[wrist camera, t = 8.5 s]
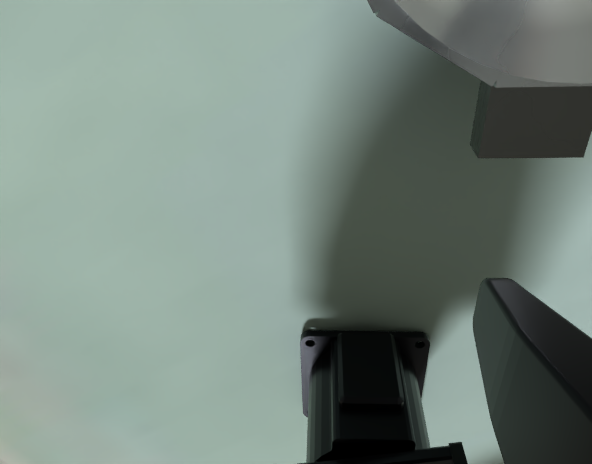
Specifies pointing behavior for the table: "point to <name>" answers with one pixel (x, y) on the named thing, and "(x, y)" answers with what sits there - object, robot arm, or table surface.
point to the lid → (514, 34)
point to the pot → (512, 103)
